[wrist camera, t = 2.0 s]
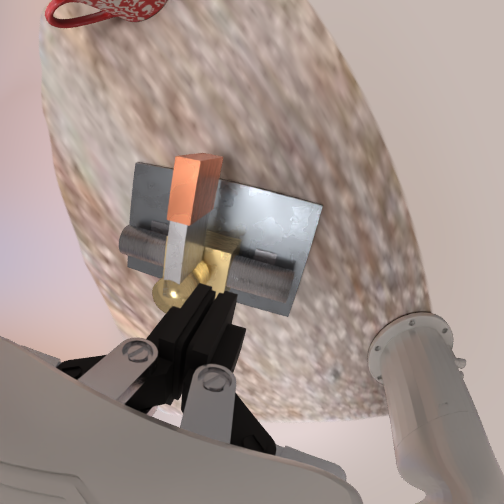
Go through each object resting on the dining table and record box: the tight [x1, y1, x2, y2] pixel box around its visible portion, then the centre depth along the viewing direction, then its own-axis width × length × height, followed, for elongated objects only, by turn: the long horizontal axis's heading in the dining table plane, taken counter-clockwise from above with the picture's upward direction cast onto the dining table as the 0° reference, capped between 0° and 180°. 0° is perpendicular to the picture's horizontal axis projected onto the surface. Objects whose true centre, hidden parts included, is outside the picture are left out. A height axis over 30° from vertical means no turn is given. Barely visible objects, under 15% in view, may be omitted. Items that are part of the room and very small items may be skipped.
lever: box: [152, 153, 223, 313], centre depth 26 cm, size 14×4×6 cm, turn 168°
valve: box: [119, 162, 322, 317], centre depth 32 cm, size 22×14×5 cm, turn 78°
